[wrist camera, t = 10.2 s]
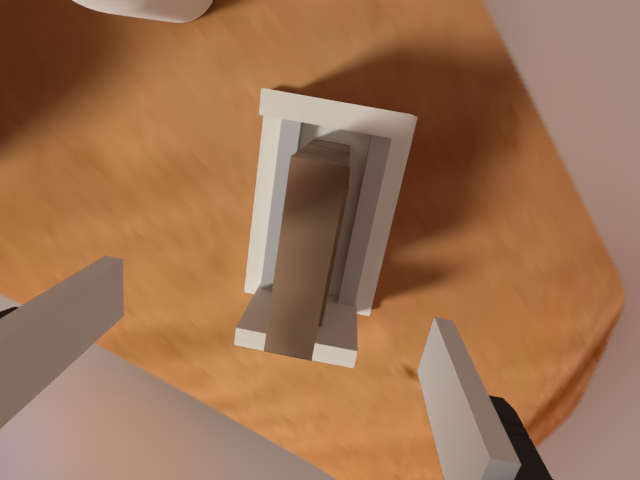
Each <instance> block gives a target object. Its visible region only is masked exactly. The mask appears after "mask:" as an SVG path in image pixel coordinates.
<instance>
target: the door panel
mask: <svg viewBox="0 0 640 480" xmlns="http://www.w3.org/2000/svg"><path fill="white" fill-rule="evenodd" d="M350 148H351V145H346V144H340V143H335V142H329V141H323V140H318V139H313V140H312V141H311V142H309V143H308V144H307V145H305V146H304V147H303V148H301V149H300V150H298V151H297V152H296V153H294V154H293V155H292V156H291V158H290V165H289V172H288V179H287V186H286V194H285V201H284V208H283V215H282V223H281V230H280V237H279V244H278V252H277V259H276V266H275V273H274V280H273V288H272V295H271V302H270V309H269V317H268V324H267V331H266V338H265V346H264V352H269V353H275V354H280V355H285V356H290V357H295V358H300V359H305V360H310V361H312V356H313V350H314V345H315V340H316V335H317V329H318V327H322V323H323V318H324V312H325V307H326V302H327V297H328V292H329V287H330V282H331V277H332V272H333V266H334V261H335V256H336V251H337V246H338V241H339V236H340V231H341V225H342V220H343V215H344V210H345V205H346V200H347V195H348V188H349V175H350V167H349V158H350Z"/></svg>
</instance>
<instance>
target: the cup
mask: <svg viewBox="0 0 640 480" xmlns="http://www.w3.org/2000/svg"><path fill="white" fill-rule="evenodd" d="M72 1H74V2H76V3H78V4H80V5H82V6H84V7H86V8H89V9H92V10H95V11H99V12H104V13H109V14H116V15H123V16H130V17H137V18H145V19H152V20H159V21H167V22H174V23H186V22H190V21H193V20H195V19H197V18H198V17H200V16H201V15H203V14H204V13H205V12H206V11H207V9H208V8H209V7H210V5H211V4H212V2H213V0H72Z"/></svg>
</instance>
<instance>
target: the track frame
mask: <svg viewBox="0 0 640 480" xmlns="http://www.w3.org/2000/svg"><path fill="white" fill-rule="evenodd" d="M259 115H264V116H263V126H262V135H261V144H260V153H259V162H258V171H257V180H256V189H255V198H254V207H253V216H252V225H251V234H250V244H249V253H248V262H247V271H246V280H245V289H244V292H246V293H251V294H254V296H253V298H252V299H251V301H250V303H249V305H248V307H247V309H246V310H245V312H244V314H243V316H242V318H241V320H240V322H239V323H238V325H237V327H236V334H235V343H234V345H237V346H242V347H248V348H253V349H258V350H263V351H264V346H265V338H266V331H267V324H268V317H269V309H270V302H271V295H272V288H273V280H274V273H275V266H276V259H277V252H278V244H279V237H280V230H281V223H282V215H283V208H284V201H285V194H286V186H287V179H288V172H289V165H290V158H291V156H292V155H293V154H294V153H296V152H297V151H298V150H300V149H301V148H303V147H304V146H305V145H307V144H308V143H309V142H311V141H312V140H313V139H318V140H323V141H329V142H335V143H340V144H346V145H351V148H350V158H349V167H350V175H349V188H348V195H347V200H346V205H345V210H344V215H343V220H342V225H341V231H340V236H339V241H338V246H337V251H336V256H335V261H334V266H333V272H332V277H331V282H330V287H329V292H328V297H327V302H326V307H325V312H324V318H323V323H322V327H318V329H317V335H316V340H315V345H314V350H313V356H312V360H314V361H319V362H324V363H329V364H335V365H340V366H345V367H350V368H354V364H355V360H356V355H357V314H361V315H366V316H370V312H371V308H372V303H373V299H374V295H375V291H376V287H377V283H378V279H379V275H380V270H381V266H382V262H383V258H384V254H385V250H386V246H387V242H388V237H389V233H390V229H391V225H392V221H393V217H394V213H395V209H396V204H397V200H398V196H399V192H400V188H401V184H402V180H403V176H404V171H405V167H406V163H407V159H408V155H409V151H410V147H411V143H412V138H413V134H414V130H415V126H416V122H417V118H418V117H416V116H414V115H412V114H406V113H401V112H395V111H389V110H384V109H378V108H372V107H367V106H361V105H355V104H350V103H344V102H339V101H333V100H327V99H322V98H316V97H310V96H305V95H299V94H293V93H288V92H282V91H276V90H271V89H265V88H261V98H260V107H259Z"/></svg>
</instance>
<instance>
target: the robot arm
mask: <svg viewBox="0 0 640 480" xmlns="http://www.w3.org/2000/svg"><path fill="white" fill-rule="evenodd" d="M123 316H124V304H123V259H119V258H114V257H109V256H104V257H102V258H101V259H99V260H97V261H96V262H94V263H92V264H91V265H89V266H87V267H86V268H84V269H82V270H81V271H79V272H77V273H76V274H74V275H72V276H71V277H69V278H67V279H66V280H64V281H62V282H61V283H59V284H57V285H56V286H54V287H52V288H51V289H49V290H47V291H46V292H44V293H42V294H41V295H39V296H37V297H36V298H34V299H32V300H31V301H29V302H27V303H26V304H24V305H22V306H21V307H13V308H10V309H7V310H4V311H1V312H0V429H1V428H2V427H3V426H4V425H5V424H6V423H7V422H8V421H9V420H11V419H12V418H13V417H14V416H15V415H16V414H17V413H18V412H19V411H20V410H21V409H23V408H24V407H25V406H26V405H27V404H28V403H29V402H30V401H31V400H32V399H33V398H35V397H36V396H37V395H38V394H39V393H40V392H41V391H42V390H43V389H44V388H46V386H48V385H49V384H50V383H51V382H52V381H53V380H54V379H55V378H56V377H57V376H59V375H60V374H61V373H62V372H63V371H64V370H65V369H66V368H67V367H68V366H70V365H71V364H72V363H73V362H74V361H75V360H76V359H77V358H78V357H79V356H80V355H81V354H83V353H84V352H85V351H86V350H87V349H88V348H89V347H90V346H91V345H92V344H94V343H95V342H96V341H97V340H98V339H99V338H100V337H101V336H102V335H103V334H105V333H106V332H107V331H108V330H109V329H110V328H111V327H112V326H113V325H114V324H115V323H117V322H118V321H119V320H120V319H121V318H122V317H123ZM417 372H418V376H419V380H420V384H421V388H422V392H423V396H424V400H425V404H426V408H427V412H428V416H429V420H430V424H431V427H432V431H433V435H434V439H435V443H436V447H437V451H438V455H439V459H440V463H441V467H442V471H443V475H444V479H445V480H554V479H552V478H551V476H550V474H549V472H548V470H547V468H546V466H545V465H544V463H543V461H542V459H541V457H540V456H539V454H538V452H537V450H536V448H535V446H534V444H533V442H532V441H531V439H530V438H529V435H528V433H527V431H526V429H525V428H524V427H523V424H522V422H521V420H520V418H519V417H518V415H517V413H516V411H515V410H514V409H513V408H512V407H511V406H510V405H509V404H508V403H507V402H506V401H505V400H504V399H503V398H500V397H494V396H489V395H488V393H487V391H486V389H485V387H484V385H483V383H482V381H481V379H480V377H479V375H478V372H477V370H476V368H475V366H474V364H473V362H472V360H471V358H470V356H469V354H468V351H467V349H466V347H465V345H464V343H463V341H462V339H461V337H460V335H459V333H458V330H457V328H456V326H455V324H454V322H453V321H452V320H447V319H442V318H436V317H434V320H433V323H432V326H431V329H430V333H429V336H428V339H427V342H426V346H425V349H424V352H423V355H422V358H421V362H420V365H419V368H418V371H417Z"/></svg>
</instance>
